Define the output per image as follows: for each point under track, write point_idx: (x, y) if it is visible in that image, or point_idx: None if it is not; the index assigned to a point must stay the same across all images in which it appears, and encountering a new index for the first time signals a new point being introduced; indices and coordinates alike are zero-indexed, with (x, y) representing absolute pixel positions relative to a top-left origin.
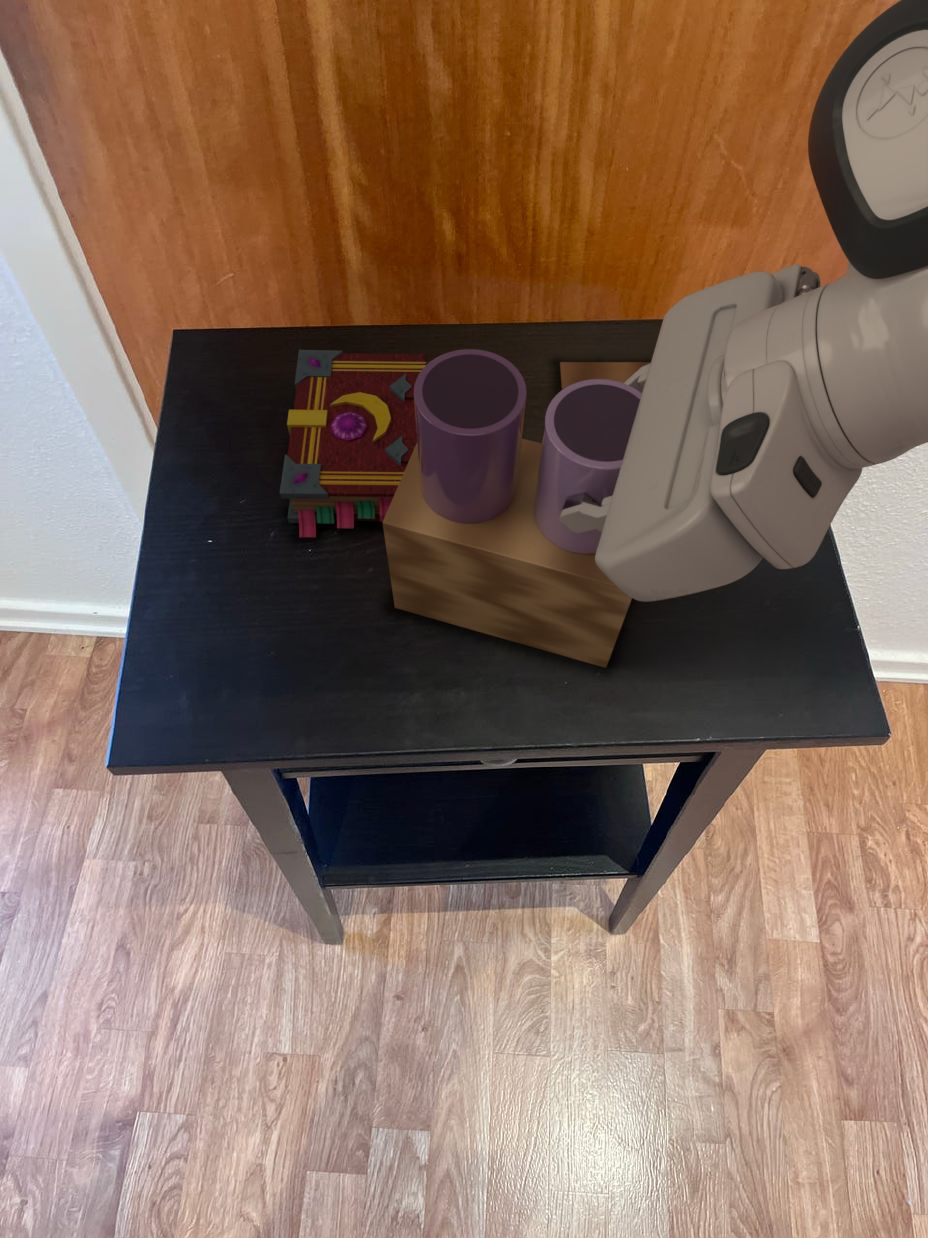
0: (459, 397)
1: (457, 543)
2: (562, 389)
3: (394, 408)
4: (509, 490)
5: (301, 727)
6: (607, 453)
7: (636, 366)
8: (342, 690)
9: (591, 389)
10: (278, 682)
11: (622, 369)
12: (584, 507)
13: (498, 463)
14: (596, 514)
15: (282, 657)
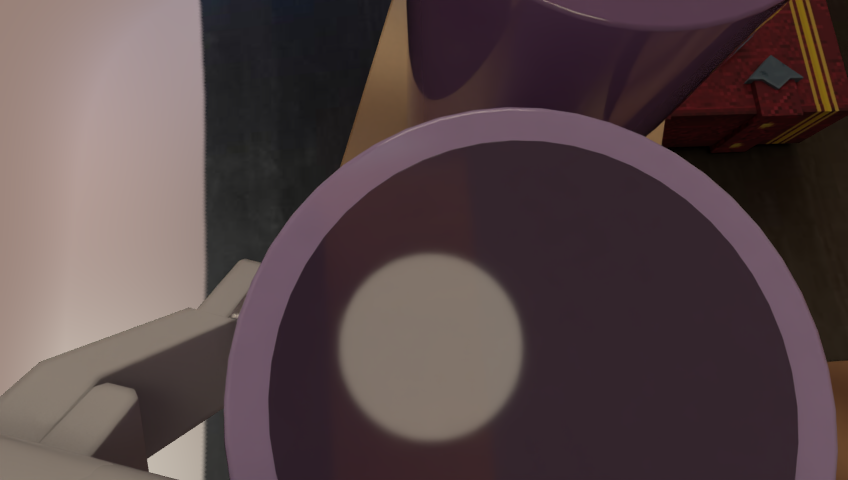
0: None
1: (359, 106)
2: (846, 361)
3: (728, 70)
4: None
5: (230, 37)
6: (315, 407)
7: None
8: (280, 77)
9: (745, 323)
10: (291, 5)
11: None
12: (191, 323)
13: (437, 69)
14: (63, 360)
15: (325, 5)
